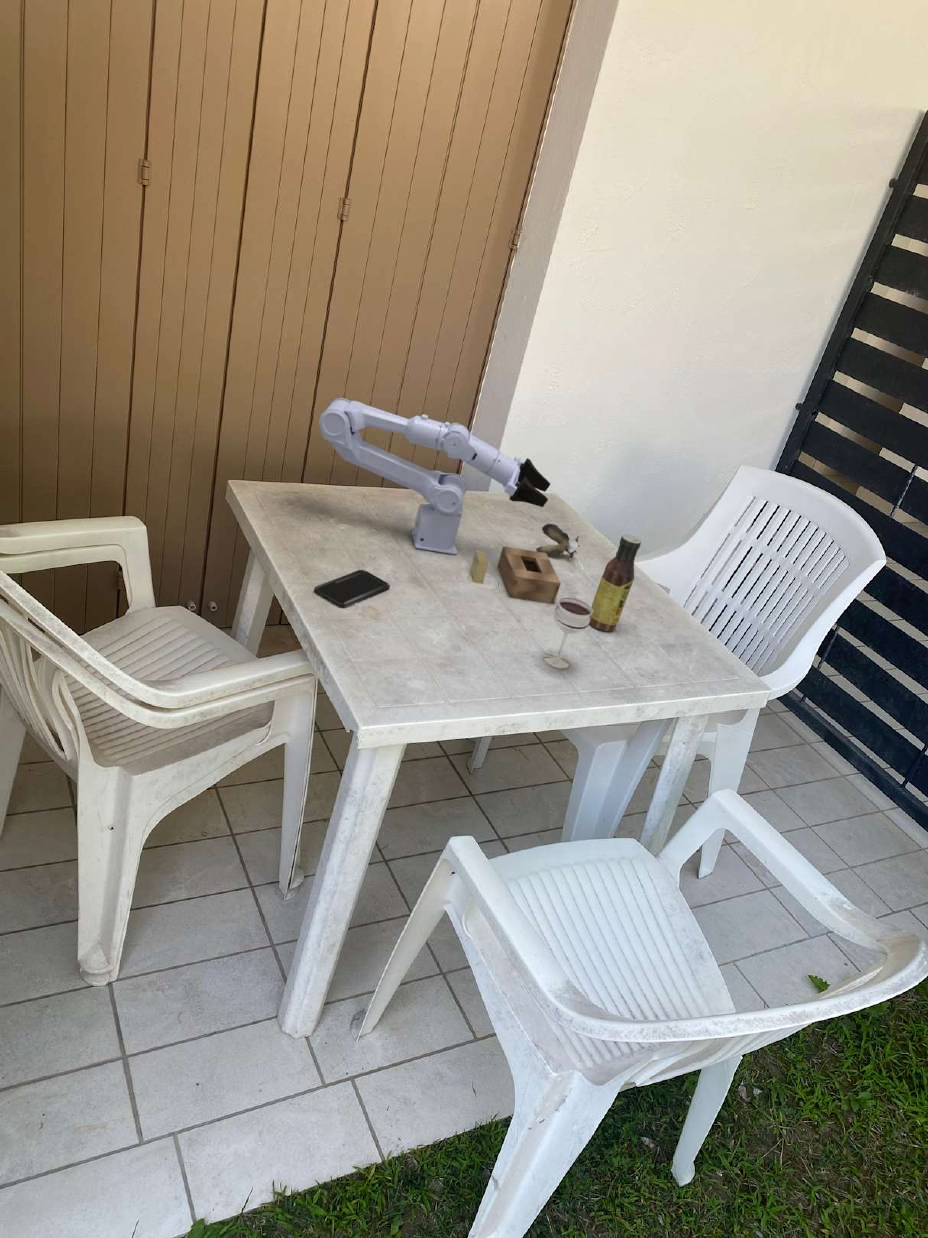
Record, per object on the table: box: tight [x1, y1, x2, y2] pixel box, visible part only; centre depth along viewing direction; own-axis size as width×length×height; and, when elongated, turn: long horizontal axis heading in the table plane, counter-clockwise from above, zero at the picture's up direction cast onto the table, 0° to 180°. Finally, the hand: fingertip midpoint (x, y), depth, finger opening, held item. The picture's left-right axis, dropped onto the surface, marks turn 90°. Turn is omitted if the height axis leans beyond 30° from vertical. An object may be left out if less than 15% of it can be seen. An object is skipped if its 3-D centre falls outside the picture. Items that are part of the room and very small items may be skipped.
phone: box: [313, 569, 391, 609], centre depth 180 cm, size 8×1×15 cm
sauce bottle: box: [589, 534, 642, 632], centre depth 188 cm, size 7×6×20 cm
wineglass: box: [543, 596, 593, 669], centre depth 172 cm, size 7×7×12 cm
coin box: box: [497, 545, 562, 605], centre depth 200 cm, size 10×14×5 cm
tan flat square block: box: [469, 550, 489, 584], centre depth 197 cm, size 2×5×5 cm, turn 8°
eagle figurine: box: [535, 523, 581, 559], centre depth 218 cm, size 8×7×9 cm
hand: (546, 495), depth 200 cm, fingers open, 7 cm apart
